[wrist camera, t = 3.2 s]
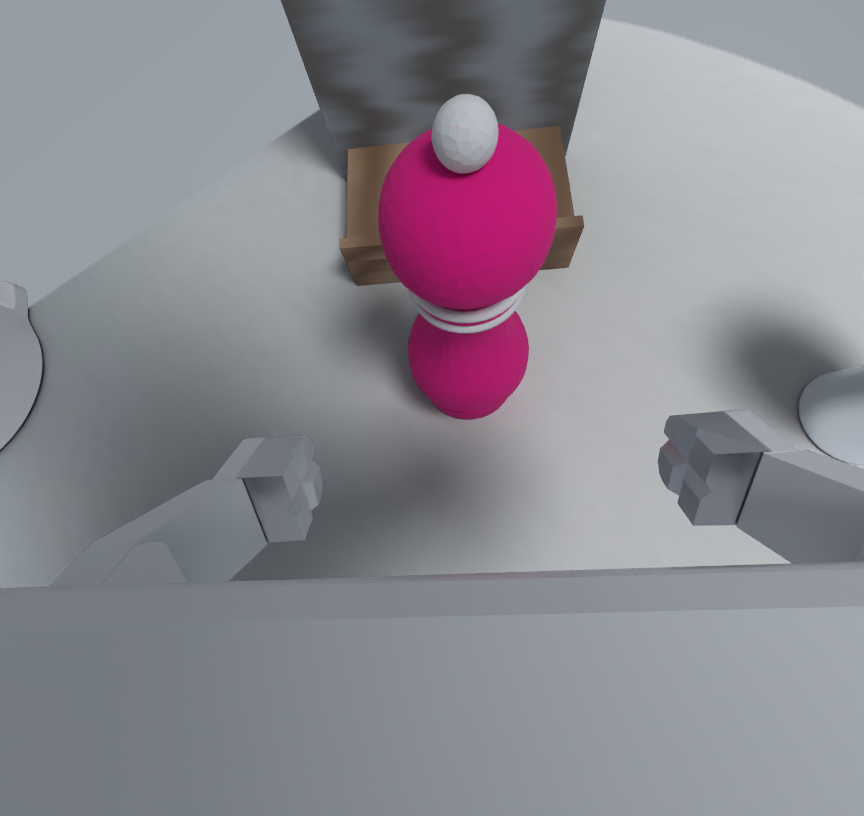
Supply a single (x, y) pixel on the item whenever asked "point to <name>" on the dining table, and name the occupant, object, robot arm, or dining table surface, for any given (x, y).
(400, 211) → the pepper mill
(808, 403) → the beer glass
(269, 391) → the dining table surface
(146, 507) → the dining table surface
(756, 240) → the dining table surface
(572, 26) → the ledge shelf
